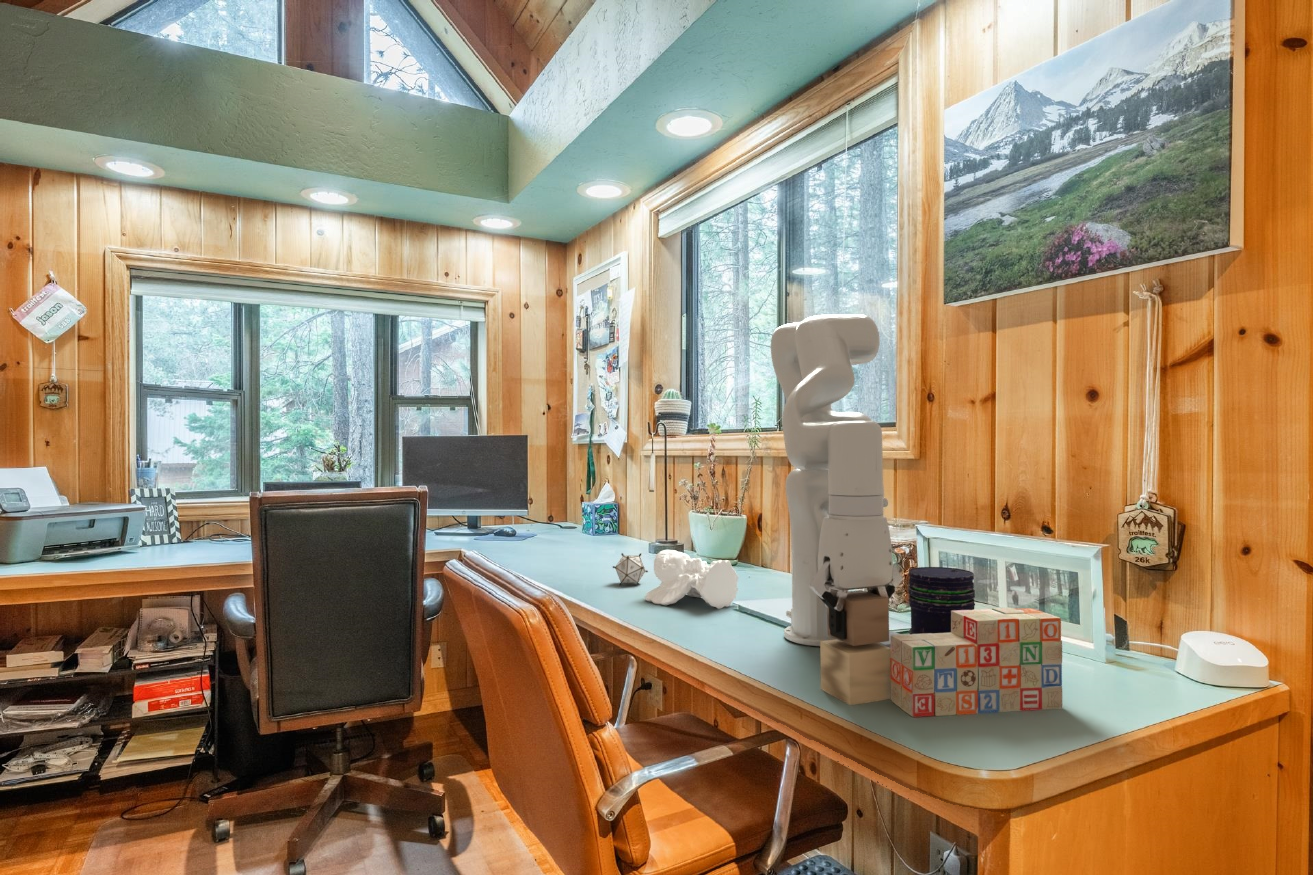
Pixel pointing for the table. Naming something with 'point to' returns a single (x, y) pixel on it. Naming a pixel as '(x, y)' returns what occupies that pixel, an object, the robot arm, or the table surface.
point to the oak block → (855, 671)
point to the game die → (630, 569)
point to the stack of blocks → (980, 664)
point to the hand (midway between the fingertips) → (857, 633)
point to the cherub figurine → (692, 580)
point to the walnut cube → (865, 618)
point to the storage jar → (938, 597)
